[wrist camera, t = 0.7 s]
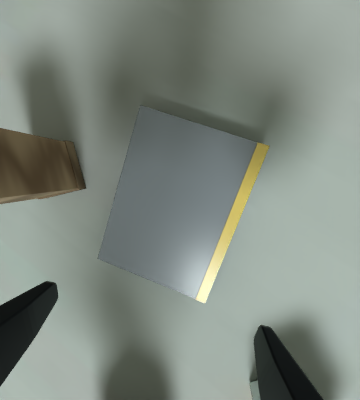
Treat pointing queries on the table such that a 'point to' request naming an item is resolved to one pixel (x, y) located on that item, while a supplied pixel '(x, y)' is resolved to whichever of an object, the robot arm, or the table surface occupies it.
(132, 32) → the table surface
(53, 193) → the brown block
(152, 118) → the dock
